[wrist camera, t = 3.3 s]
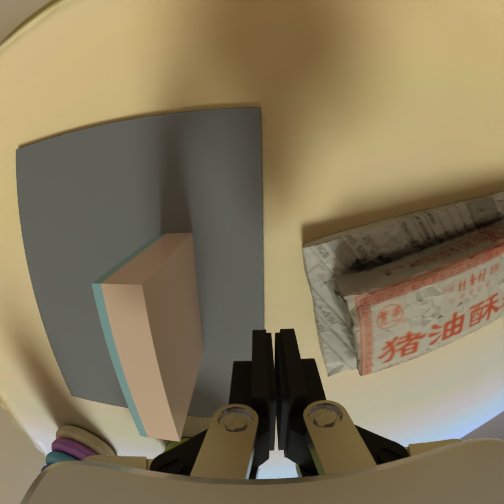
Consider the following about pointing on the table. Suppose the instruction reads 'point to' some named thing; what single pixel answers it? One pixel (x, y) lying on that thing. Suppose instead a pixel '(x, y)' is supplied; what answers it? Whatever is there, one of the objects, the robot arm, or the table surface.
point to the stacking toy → (75, 446)
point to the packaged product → (407, 283)
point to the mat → (146, 234)
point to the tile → (154, 331)
